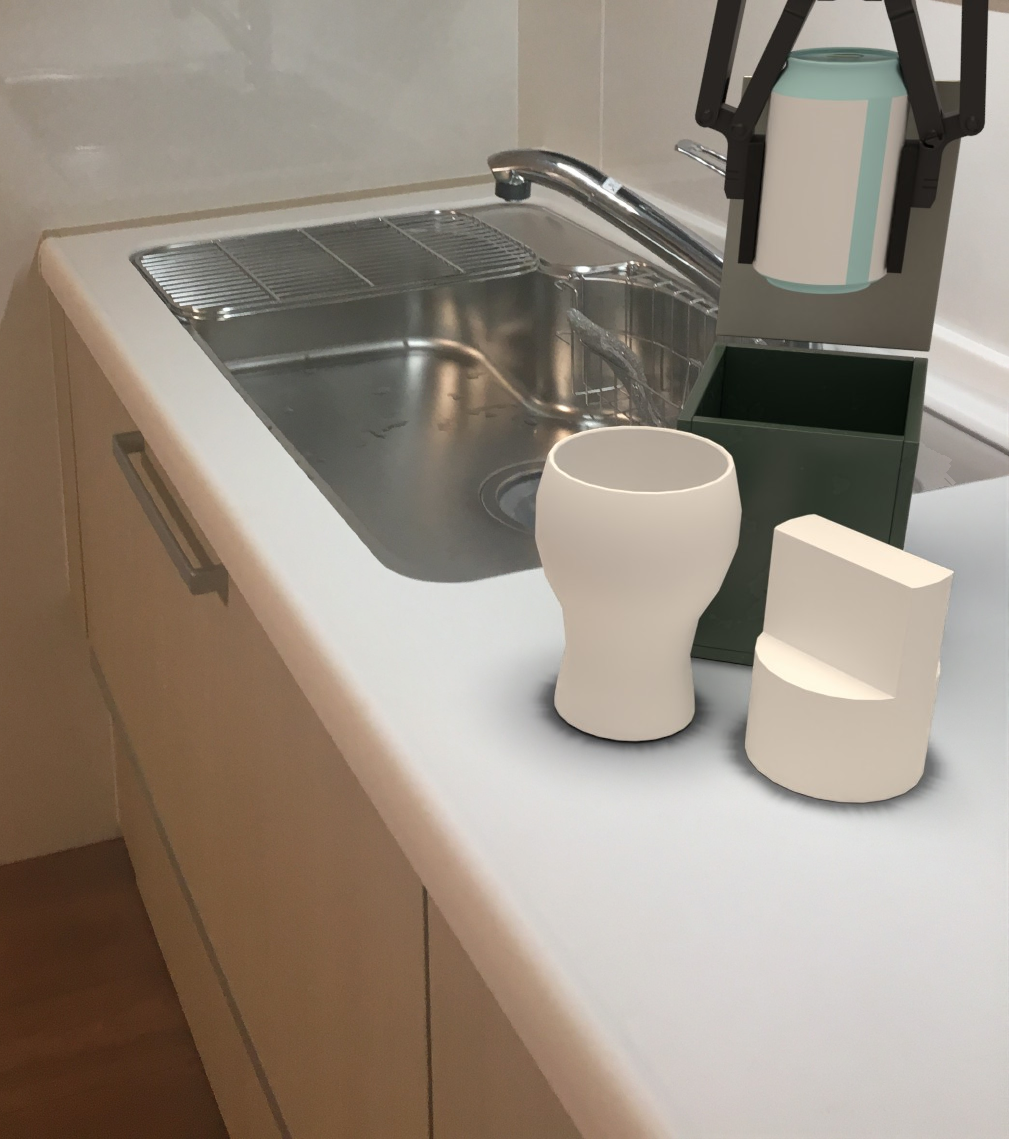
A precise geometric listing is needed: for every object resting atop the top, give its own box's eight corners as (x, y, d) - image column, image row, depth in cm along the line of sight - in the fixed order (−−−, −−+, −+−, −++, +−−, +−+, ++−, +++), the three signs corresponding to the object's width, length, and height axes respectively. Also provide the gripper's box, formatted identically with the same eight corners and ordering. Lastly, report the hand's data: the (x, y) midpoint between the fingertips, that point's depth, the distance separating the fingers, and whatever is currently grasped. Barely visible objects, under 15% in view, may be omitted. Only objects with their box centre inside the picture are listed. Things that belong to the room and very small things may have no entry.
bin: (882, 685, 89) (919, 442, 82) (658, 651, 93) (677, 419, 86) (895, 576, 101) (928, 357, 94) (696, 551, 105) (715, 340, 99)
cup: (569, 644, 94) (580, 410, 88) (744, 684, 89) (770, 440, 82) (498, 727, 86) (504, 476, 79) (686, 776, 81) (710, 513, 74)
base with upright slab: (961, 765, 81) (998, 557, 76) (843, 823, 77) (874, 607, 72) (823, 693, 88) (849, 498, 83) (708, 743, 84) (728, 541, 79)
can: (728, 270, 88) (748, 49, 83) (840, 258, 90) (867, 40, 84) (793, 303, 82) (819, 67, 77) (912, 290, 84) (946, 57, 78)
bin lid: (969, 80, 89) (969, 81, 90) (743, 76, 94) (744, 76, 94) (929, 352, 94) (929, 350, 94) (714, 335, 98) (716, 334, 99)
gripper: (653, -195, 76) (625, 268, 86) (1108, -213, 69) (1019, 293, 79) (678, -197, 82) (649, 235, 92) (1098, -213, 75) (1017, 256, 85)
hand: (820, 261), depth 86 cm, fingers closed on can, 7 cm apart
